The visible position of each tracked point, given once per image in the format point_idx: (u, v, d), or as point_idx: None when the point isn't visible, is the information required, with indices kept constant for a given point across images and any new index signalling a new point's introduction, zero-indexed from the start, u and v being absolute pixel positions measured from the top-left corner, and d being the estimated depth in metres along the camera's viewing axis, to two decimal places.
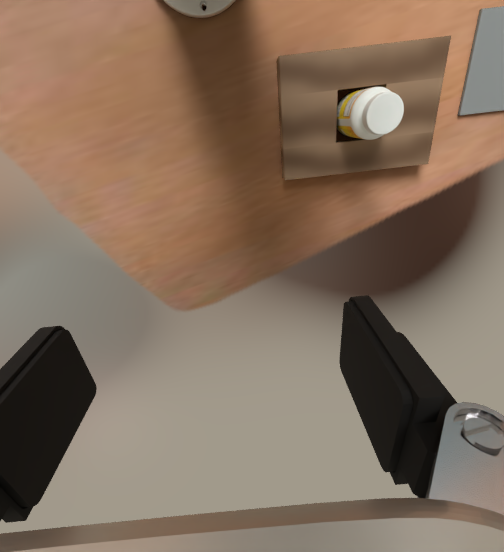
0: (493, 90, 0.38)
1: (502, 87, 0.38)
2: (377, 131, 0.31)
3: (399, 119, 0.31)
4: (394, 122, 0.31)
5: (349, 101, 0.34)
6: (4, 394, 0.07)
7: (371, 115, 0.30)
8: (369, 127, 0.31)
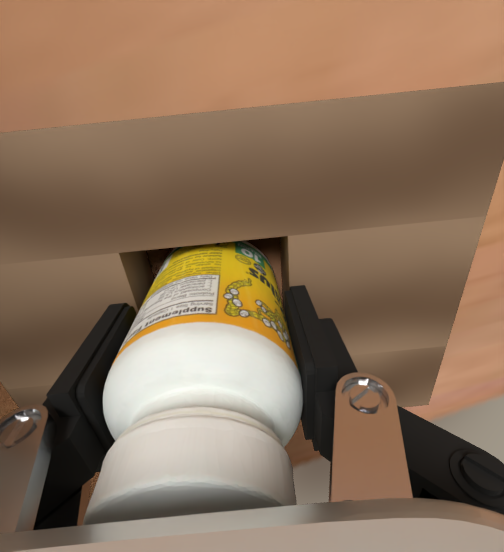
0: None
1: None
2: None
3: None
4: None
5: (136, 316, 0.09)
6: (97, 356, 0.08)
7: None
8: None
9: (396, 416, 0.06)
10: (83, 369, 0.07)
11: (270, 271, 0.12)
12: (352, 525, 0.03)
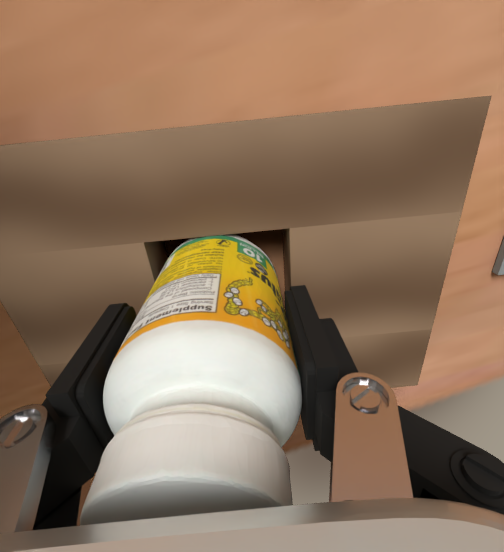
0: None
1: None
2: None
3: None
4: None
5: (138, 314, 0.09)
6: (97, 356, 0.08)
7: None
8: None
9: (397, 416, 0.06)
10: (82, 369, 0.07)
11: (272, 271, 0.12)
12: (352, 525, 0.03)
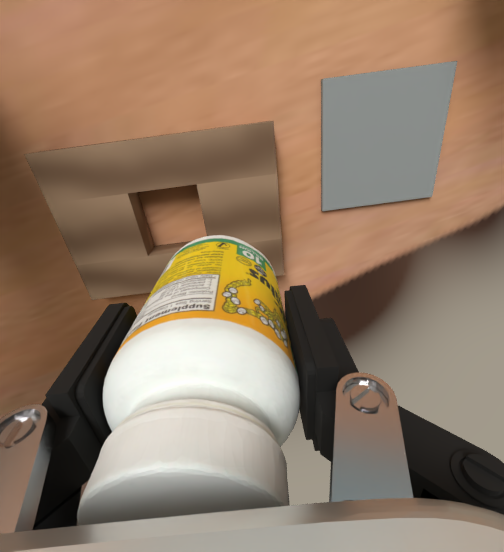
0: (362, 180, 0.27)
1: (374, 176, 0.27)
2: None
3: None
4: None
5: None
6: (96, 356, 0.08)
7: None
8: None
9: (396, 416, 0.06)
10: (82, 369, 0.07)
11: (271, 273, 0.12)
12: (352, 525, 0.03)
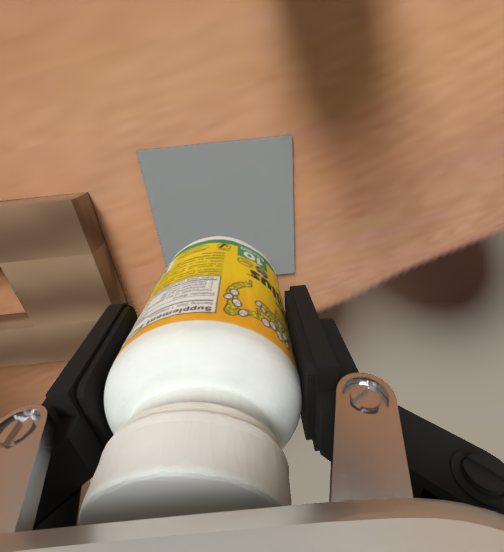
0: None
1: None
2: None
3: None
4: None
5: (139, 316, 0.09)
6: (96, 356, 0.08)
7: None
8: None
9: (397, 416, 0.06)
10: (81, 369, 0.07)
11: (272, 274, 0.12)
12: (352, 525, 0.03)
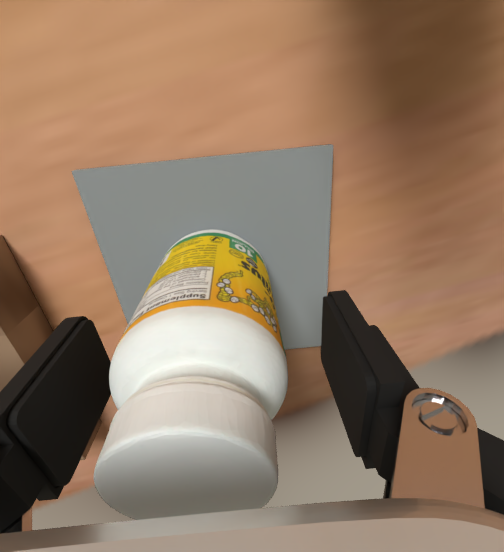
0: None
1: None
2: None
3: (263, 496, 0.07)
4: (244, 503, 0.07)
5: None
6: (39, 378, 0.07)
7: (120, 494, 0.06)
8: (133, 518, 0.07)
9: (475, 444, 0.05)
10: (19, 393, 0.07)
11: (262, 265, 0.13)
12: (352, 525, 0.03)
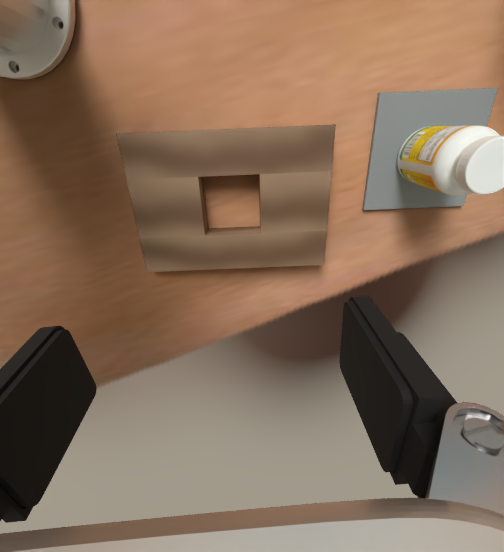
0: (403, 185, 0.31)
1: None
2: (478, 189, 0.21)
3: None
4: None
5: (429, 141, 0.25)
6: (4, 394, 0.07)
7: (474, 167, 0.21)
8: (468, 184, 0.21)
9: None
10: None
11: None
12: (352, 525, 0.03)
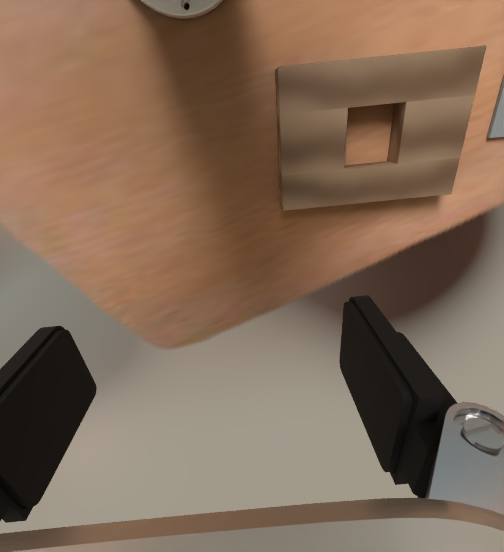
0: None
1: None
2: None
3: None
4: None
5: None
6: (4, 394, 0.07)
7: None
8: None
9: None
10: None
11: None
12: (352, 525, 0.03)
